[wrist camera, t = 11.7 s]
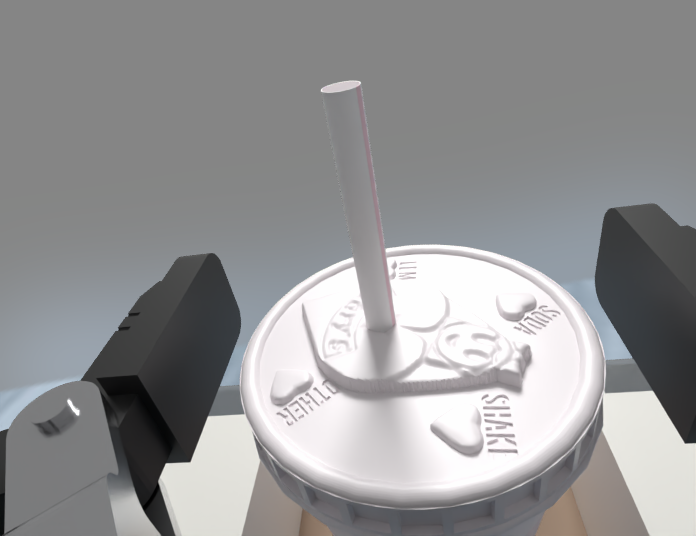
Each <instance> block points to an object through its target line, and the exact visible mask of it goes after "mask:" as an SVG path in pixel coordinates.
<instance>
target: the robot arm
mask: <svg viewBox="0 0 696 536" xmlns="http://www.w3.org/2000/svg"><path fill="white" fill-rule="evenodd" d="M595 287H596V293H597V297H598V300H599V302H600V304H601V306H602V308H603V310H604V311H605V313H606V315H607V316H608V318H609V319H610V321H611V323H612V324H613V326H614V328H615V329H616V331H617V333H618V334H619V336H620V338H621V339H622V341H623V343H624V344H625V346H626V347H627V349H628V351H629V352H630V354H631V356H632V357H633V359H634V361H635V362H636V364H637V366H638V367H639V369H640V370H641V372H642V374H643V375H644V377H645V379H646V380H647V382H648V384H649V385H650V387H651V389H652V390H653V392H654V394H655V395H656V397H657V398H658V400H659V402H660V403H661V405H662V407H663V408H664V410H665V412H666V413H667V415H668V417H669V418H670V420H671V421H672V423H673V425H674V426H675V428H676V430H677V431H678V433H679V435H680V436H681V438H682V440H683V441H684V443H685V444H690V443H696V229H694V228H692V227H690V226H679V225H678V224H677V223H676V222H675V221H674V220H673V219H672V218H671V217H670V216H669V215H668V214H667V213H665V212H664V211H663V210H662V209H661V208H660V207H659V206H658V205H656V204H643V205H634V206H626V207H617V208H611V209H609V210H608V211H607V212H606V214H605V216H604V221H603V227H602V233H601V239H600V246H599V253H598V259H597V266H596V273H595ZM128 314H129V316H128V317H125V319H124V320H123V322H122V323H121V324H120V326H119V327H118V328H119V330H118V331H115V333H114V334H113V336H112V337H111V338H110V340H109V341H108V343H107V344H106V345H105V347H104V348H103V350H102V351H101V352H100V354H99V355H98V357H97V358H96V359H95V361H94V362H93V364H92V365H91V367H90V368H89V369H88V371H87V372H86V373H85V375H84V376H83V378H82V379H81V381H75V382H70V383H66V384H63V385H60V386H58V387H55V388H53V389H51V390H49V391H47V392H46V393H44V394H42V395H41V396H39V397H38V398H36V399H35V400H34V401H32V402H31V403H30V404H29V405H27V406H26V407H25V408H24V409H23V410H22V411H21V412H20V413H19V414H18V416H17V417H16V418H15V419H14V421H13V422H12V424H11V426H10V427H9V429H6V430H3V431H0V536H182V535H181V531H180V528H179V525H178V522H177V519H176V516H175V513H174V510H173V507H172V504H171V501H170V498H169V495H168V492H167V489H166V486H165V484H164V482H163V481H162V479H161V478H160V476H161V474H162V471H163V469H164V467H165V464H166V463H189V462H191V460H192V457H193V454H194V452H195V449H196V447H197V444H198V441H199V439H200V436H201V434H202V431H203V428H204V426H205V423H206V420H207V418H208V415H209V413H210V410H211V407H212V405H213V402H214V400H215V397H216V394H217V392H218V389H219V386H220V384H221V381H222V379H223V376H224V373H225V371H226V368H227V366H228V363H229V360H230V358H231V355H232V353H233V350H234V347H235V345H236V342H237V339H238V337H239V334H240V328H241V317H240V311H239V308H238V305H237V302H236V300H235V297H234V295H233V292H232V289H231V287H230V285H229V282H228V279H227V277H226V274H225V271H224V269H223V266H222V264H221V261H220V259H219V258H218V257H217V256H216V255H215V254H213V253H209V254H200V255H192V256H183V257H179V258H178V259H177V260H176V261H175V262H174V264H173V265H172V267H171V268H170V270H169V271H168V273H167V274H166V276H165V277H164V279H163V280H162V281H159V282H158V283H156V284H155V285H154V286H153V287H152V288H150V289H149V290H148V291H147V292H145V293H144V294H143V295H142V296H140V298H139V299H138V301H137V302H136V303H135V305H134V306H133V308H132V309H131V310H130V312H129V313H128Z"/></svg>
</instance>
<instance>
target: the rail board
mask: <svg viewBox="0 0 696 536" xmlns="http://www.w3.org/2000/svg"><path fill="white" fill-rule="evenodd" d="M605 363H606V379H605V389H604V394H603V428H602V431H601V433H600V436H599V438H598V441H597V444H596V446H595V449H594V451H593V454H592V457H591V459H590V462H589V464H588V467H587V469H586V470H585V471H584V472H583V473H582V474H581V475H580V476H579V478H578V479H577V480H576V481H575V482H574V483H573V484H572V485H571V486H570V488H569V489H568V490H567V491H566V492H565V493H564V494H563V495H562V496H561V497H560V499H559V500H558V501H557V502H556V503H555V504H554V505H553V506H552V507H550V508H549V509H547V510H545V512H544V515H543V517H542V520H541V522H540V525H539V527H538V530H537V532H536V535H535V536H696V443H690V444H685V443H684V441H683V440H682V438H681V436H680V435H679V433H678V431H677V430H676V428H675V426H674V425H673V423H672V421H671V420H670V418H669V417H668V415H667V413H666V412H665V410H664V408H663V407H662V405H661V403H660V402H659V400H658V398H657V397H656V395H655V394H654V392H653V390H652V389H651V387H650V385H649V384H648V382H647V380H646V379H645V377H644V375H643V374H642V372H641V370H640V369H639V367H638V366H637V364H636V362H635V361H634V359H633V358H632V359H617V360H605ZM160 478H161V479H162V481H163V482H164V484H165V486H166V489H167V492H168V495H169V498H170V501H171V504H172V507H173V510H174V513H175V516H176V519H177V522H178V525H179V528H180V531H181V535H182V536H333V534H332V533H331V531H330V530H329V528H328V527H327V525H325V524H323V523H322V522H320V521H319V520H318V519H316V518H315V517H314V516H312V515H311V514H310V513H308V512H307V511H306V510H305V509H303V508H302V507H301V506H299V505H298V504H297V503H295V502H294V501H293V500H291V499H290V498H289V497H287V496H286V495H285V494H284V493H283V492H282V491H281V489H280V488H279V486H278V485H277V483H276V482H275V480H274V479H273V477H272V476H271V474H270V473H269V472H268V470H267V469H266V467H265V466H264V464H263V463H262V461H261V460H260V458H259V455H258V452H257V448H256V444H255V440H254V437H253V433H252V430H251V428H250V426H249V423H248V421H247V419H246V416H245V413H244V409H243V406H242V401H241V394H240V385H234V386H219V389H218V392H217V394H216V397H215V400H214V402H213V405H212V407H211V410H210V413H209V415H208V418H207V420H206V423H205V426H204V428H203V431H202V434H201V436H200V439H199V441H198V444H197V447H196V449H195V452H194V454H193V457H192V460H191V462H189V463H166V464H165V467H164V469H163V471H162V474H161V476H160Z"/></svg>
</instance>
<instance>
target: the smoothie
mask: <svg viewBox="0 0 696 536" xmlns="http://www.w3.org/2000/svg"><path fill="white" fill-rule="evenodd" d="M321 95H322V99H323V105H324V110H325V115H326V120H327V125H328V130H329V136H330V141H331V146H332V151H333V156H334V161H335V166H336V172H337V177H338V182H339V187H340V192H341V197H342V202H343V207H344V212H345V218H346V222H347V228H348V233H349V238H350V243H351V248H352V254H353V258H350V259H347V260H344V261H341V262H338V263H337V264H334V265H332V266H330V267H328V268H326V269H324V270H322V271H319V272H317V273H316V274H314V275H313V276H311V277H310V278H308V279H306V280H305V281H303V282H302V283H300V284H298V285H297V286H295V287H294V288H293V289H292V290H291V291H290V292H289V293H287V294H286V295H285V296H284V297H283V298H282V299H280V300H279V301H278V302H277V303H276V304H275V305H274V306H273V308H272V309H271V310H270V311H269V312H268V313H267V314H266V316H265V317H264V318H263V319H262V321H261V322H260V324H259V325H258V327H257V328H256V330H255V331H254V333H253V335H252V337H251V339H250V341H249V343H248V346H247V349H246V351H245V354H244V358H243V362H242V366H241V373H240V394H241V401H242V406H243V409H244V413H245V416H246V419H247V421H248V423H249V426H250V428H251V430H252V433H253V437H254V440H255V444H256V448H257V452H258V455H259V458H260V460H261V461H262V463H263V464H264V466H265V467H266V469H267V470H268V472H269V473H270V474H271V476H272V477H273V479H274V480H275V482H276V483H277V485H278V486H279V488H280V489H281V491H282V492H283V493H284V494H285V495H286V496H287V497H289V498H290V499H291V500H293V501H294V502H295V503H297V504H298V505H299V506H301V507H302V508H303V509H305V510H306V511H307V512H308V513H310V514H311V515H312V516H314V517H315V518H316V519H318V520H319V521H320V522H322V523H323V524H325V525H327V527H328V528H329V530H330V531H331V533H332V534H333V536H535V535H536V532H537V530H538V527H539V525H540V522H541V520H542V517H543V515H544V512H545V510H547V509H549V508H550V507H552V506H553V505H554V504H555V503H556V502H557V501H558V500H559V499H560V497H561V496H562V495H563V494H564V493H565V492H566V491H567V490H568V489H569V488H570V486H571V485H572V484H573V483H574V482H575V481H576V480H577V479H578V478H579V476H580V475H581V474H582V473H583V472H584V471H585V470H586V469H587V467H588V464H589V462H590V459H591V457H592V454H593V451H594V449H595V446H596V444H597V441H598V438H599V436H600V433H601V431H602V428H603V394H604V389H605V379H606V363H605V356H604V351H603V346H602V343H601V340H600V337H599V335H598V332H597V330H596V328H595V326H594V324H593V322H592V320H591V319H590V317H589V316H588V315H587V313H586V312H585V310H584V309H583V308H582V307H581V305H580V304H579V303H578V302H577V301H576V300H575V299H574V298H573V297H572V296H571V295H570V294H569V293H568V292H567V291H566V290H565V289H564V288H562V287H561V286H560V285H558V284H557V283H556V282H555V281H553V280H551V279H550V278H548V277H547V276H545V275H544V274H543V273H541V272H539V271H537V270H535V269H533V268H531V267H529V266H527V265H525V264H523V263H521V262H519V261H517V260H513V259H511V258H508V257H505V256H502V255H499V254H496V253H492V252H488V251H483V250H478V249H473V248H468V247H460V246H449V245H412V246H402V247H394V248H387V249H385V243H384V236H383V229H382V222H381V215H380V208H379V202H378V195H377V188H376V181H375V175H374V168H373V161H372V154H371V148H370V141H369V134H368V128H367V120H366V113H365V107H364V100H363V93H362V86H361V82H359V81H345V82H340V83H335V84H332V85H328V86H326V87H324V88H322V89H321Z"/></svg>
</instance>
